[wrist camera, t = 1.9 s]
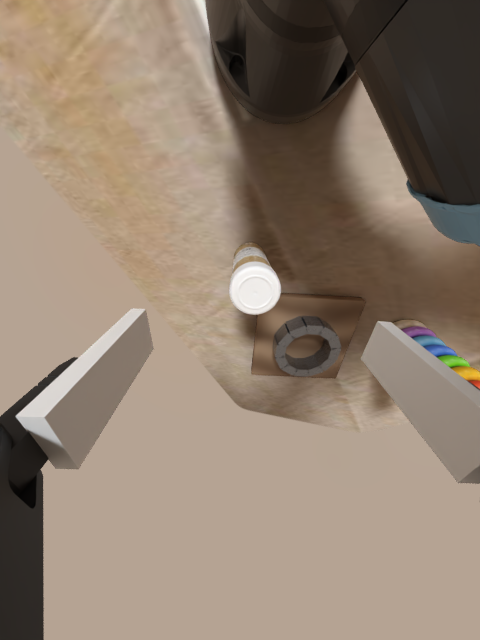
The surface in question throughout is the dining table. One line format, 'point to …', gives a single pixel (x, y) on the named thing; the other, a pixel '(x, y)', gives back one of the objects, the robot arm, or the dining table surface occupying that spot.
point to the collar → (311, 363)
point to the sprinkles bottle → (253, 281)
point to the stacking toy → (439, 349)
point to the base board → (289, 306)
